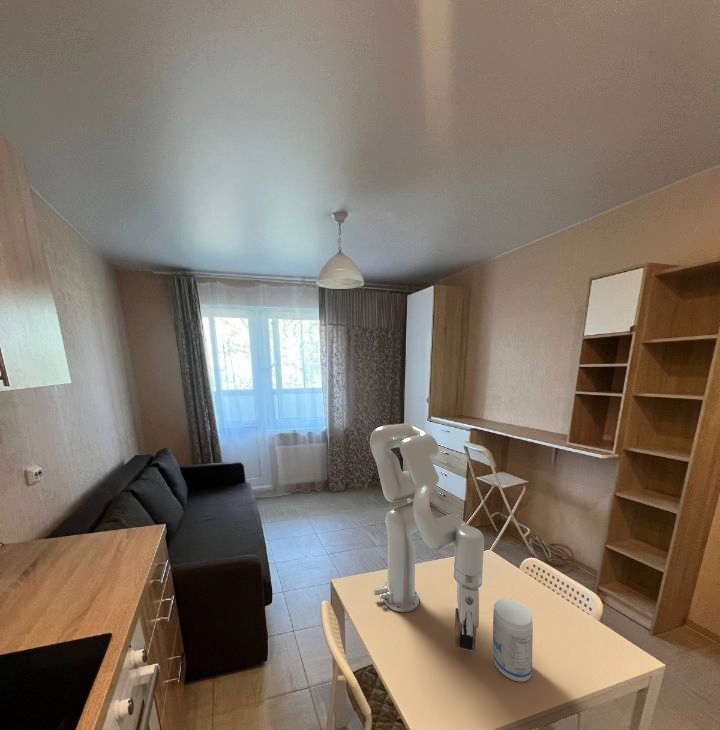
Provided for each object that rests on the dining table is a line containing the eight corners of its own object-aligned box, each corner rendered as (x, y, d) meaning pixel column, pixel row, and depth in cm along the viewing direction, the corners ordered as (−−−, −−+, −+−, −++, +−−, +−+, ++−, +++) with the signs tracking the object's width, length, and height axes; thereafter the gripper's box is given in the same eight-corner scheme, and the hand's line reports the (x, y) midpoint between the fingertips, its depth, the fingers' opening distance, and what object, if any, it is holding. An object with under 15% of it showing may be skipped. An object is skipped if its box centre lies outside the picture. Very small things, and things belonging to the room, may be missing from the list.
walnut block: (475, 651, 83) (476, 626, 83) (455, 647, 84) (457, 621, 84) (472, 636, 88) (473, 611, 88) (454, 631, 89) (455, 607, 89)
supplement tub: (486, 651, 86) (486, 598, 87) (517, 649, 87) (517, 596, 88) (505, 686, 77) (506, 625, 77) (541, 683, 78) (540, 623, 78)
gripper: (487, 599, 77) (484, 671, 77) (477, 558, 93) (474, 617, 93) (456, 593, 78) (453, 663, 78) (451, 553, 95) (448, 612, 95)
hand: (464, 637), depth 86 cm, fingers closed on walnut block, 5 cm apart
